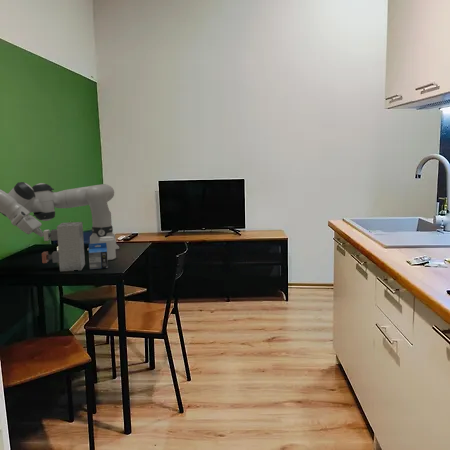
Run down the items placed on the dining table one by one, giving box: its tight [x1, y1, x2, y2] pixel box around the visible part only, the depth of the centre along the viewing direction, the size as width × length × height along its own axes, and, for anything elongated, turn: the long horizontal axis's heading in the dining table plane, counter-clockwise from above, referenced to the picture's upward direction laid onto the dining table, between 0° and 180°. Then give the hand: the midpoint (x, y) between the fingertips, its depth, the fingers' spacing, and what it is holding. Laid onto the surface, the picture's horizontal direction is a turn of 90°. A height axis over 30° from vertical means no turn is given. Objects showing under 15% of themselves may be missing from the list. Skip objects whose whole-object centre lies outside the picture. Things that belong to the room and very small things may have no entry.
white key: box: [42, 229, 51, 242], centre depth 229 cm, size 5×6×5 cm
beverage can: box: [100, 236, 117, 261], centre depth 251 cm, size 8×8×12 cm
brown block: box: [41, 251, 52, 264], centre depth 230 cm, size 5×6×5 cm
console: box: [50, 221, 86, 272], centre depth 231 cm, size 14×14×22 cm
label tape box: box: [88, 243, 109, 270], centre depth 230 cm, size 9×4×12 cm, turn 103°
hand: (43, 235), depth 228 cm, fingers closed, pressing on white key
